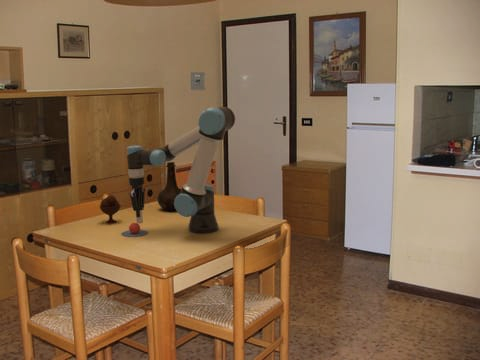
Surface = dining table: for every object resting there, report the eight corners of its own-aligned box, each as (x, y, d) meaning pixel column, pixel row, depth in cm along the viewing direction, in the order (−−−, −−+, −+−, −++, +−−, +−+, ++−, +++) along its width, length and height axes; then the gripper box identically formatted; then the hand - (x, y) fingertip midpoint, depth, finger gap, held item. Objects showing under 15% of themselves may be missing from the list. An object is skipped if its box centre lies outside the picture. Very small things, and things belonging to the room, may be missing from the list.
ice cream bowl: (123, 219, 312) (122, 193, 309) (117, 224, 301) (115, 197, 299) (104, 219, 313) (103, 193, 311) (98, 224, 302) (96, 197, 300)
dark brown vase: (183, 213, 325) (181, 164, 320) (153, 212, 328) (151, 164, 323) (192, 206, 342) (190, 160, 337) (163, 205, 346) (161, 160, 341)
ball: (141, 224, 280) (137, 235, 280) (142, 225, 286) (138, 235, 285) (130, 220, 280) (126, 231, 279) (131, 221, 286) (127, 231, 285)
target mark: (153, 232, 285) (153, 232, 285) (133, 238, 275) (133, 238, 274) (135, 228, 292) (135, 228, 292) (115, 234, 282) (115, 234, 282)
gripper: (135, 174, 290) (139, 219, 294) (123, 179, 278) (126, 225, 282) (149, 174, 288) (152, 220, 292) (137, 179, 276) (140, 226, 279)
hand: (139, 222), depth 287 cm, fingers closed
